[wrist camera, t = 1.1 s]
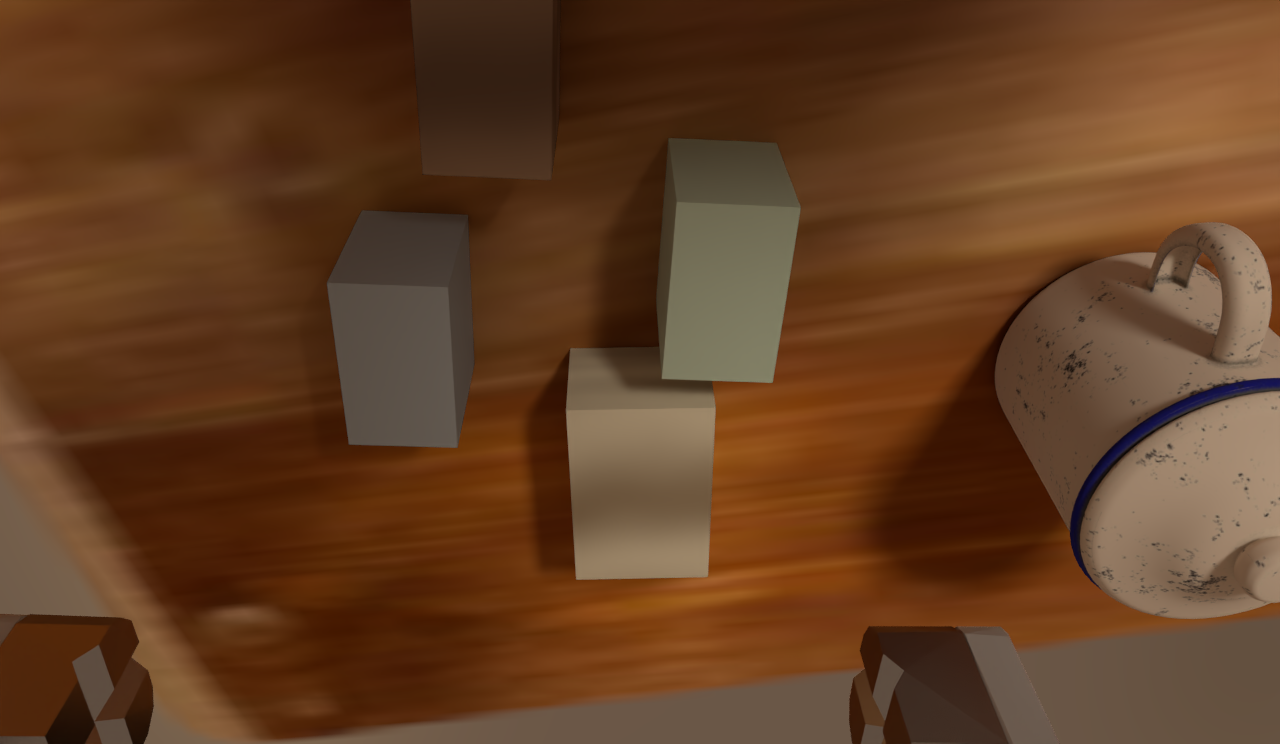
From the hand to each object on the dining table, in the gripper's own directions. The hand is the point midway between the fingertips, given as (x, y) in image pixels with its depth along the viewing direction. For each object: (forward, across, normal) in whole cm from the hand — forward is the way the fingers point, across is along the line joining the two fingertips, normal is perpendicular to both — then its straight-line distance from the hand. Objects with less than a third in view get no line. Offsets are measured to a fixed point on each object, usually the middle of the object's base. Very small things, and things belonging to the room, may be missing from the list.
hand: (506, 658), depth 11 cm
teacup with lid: (+24, -20, +8) cm, 32 cm away
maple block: (+24, -3, +13) cm, 27 cm away
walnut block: (+23, +2, -2) cm, 23 cm away
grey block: (+23, +5, +7) cm, 25 cm away
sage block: (+23, -5, +4) cm, 24 cm away
